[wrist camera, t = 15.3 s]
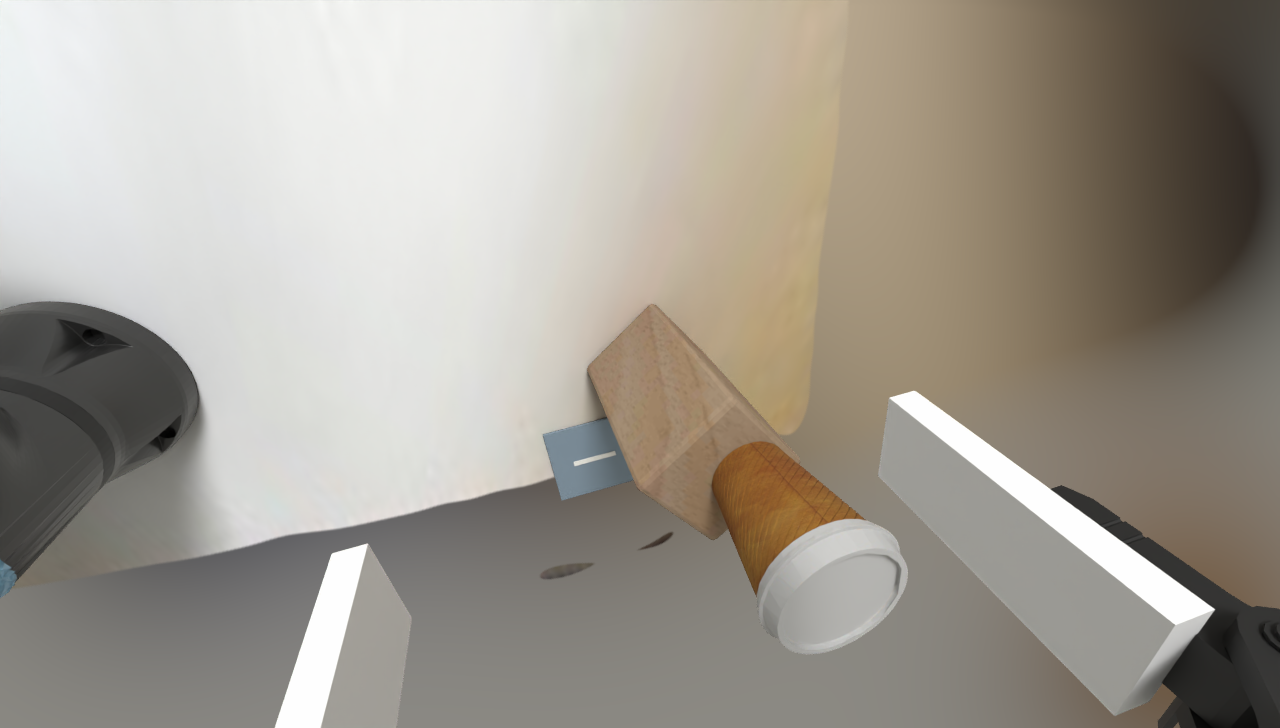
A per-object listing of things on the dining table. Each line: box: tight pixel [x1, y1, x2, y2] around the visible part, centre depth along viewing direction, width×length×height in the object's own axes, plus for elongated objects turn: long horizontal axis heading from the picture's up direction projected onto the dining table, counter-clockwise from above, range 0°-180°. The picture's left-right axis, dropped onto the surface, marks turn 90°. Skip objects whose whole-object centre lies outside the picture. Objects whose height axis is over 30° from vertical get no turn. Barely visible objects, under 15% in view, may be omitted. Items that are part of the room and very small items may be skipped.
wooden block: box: [587, 304, 800, 540], centre depth 48 cm, size 10×10×20 cm
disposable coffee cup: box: [712, 441, 908, 654], centre depth 35 cm, size 10×10×12 cm
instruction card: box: [543, 418, 634, 500], centre depth 61 cm, size 18×10×1 cm, turn 98°
